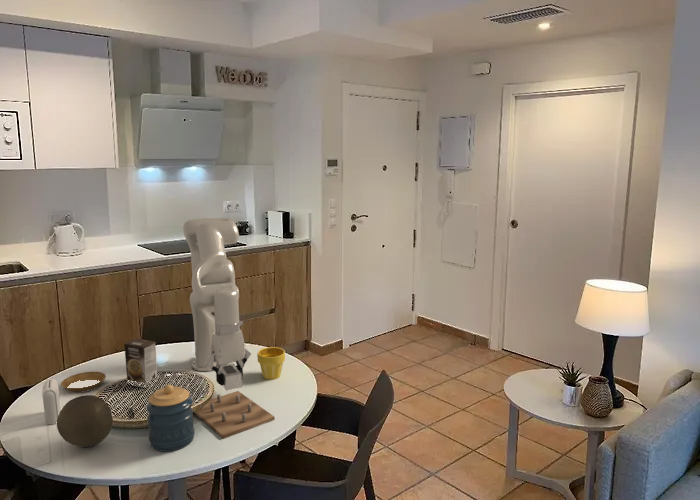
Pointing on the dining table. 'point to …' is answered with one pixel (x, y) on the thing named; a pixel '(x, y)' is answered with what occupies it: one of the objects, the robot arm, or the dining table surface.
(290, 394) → the dining table surface
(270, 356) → the plant pot
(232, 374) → the block
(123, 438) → the dining table surface
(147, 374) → the coffee box
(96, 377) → the plant saucer
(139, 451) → the dining table surface
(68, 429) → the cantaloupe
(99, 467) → the dining table surface
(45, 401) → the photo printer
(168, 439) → the canister
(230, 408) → the wooden peg board
